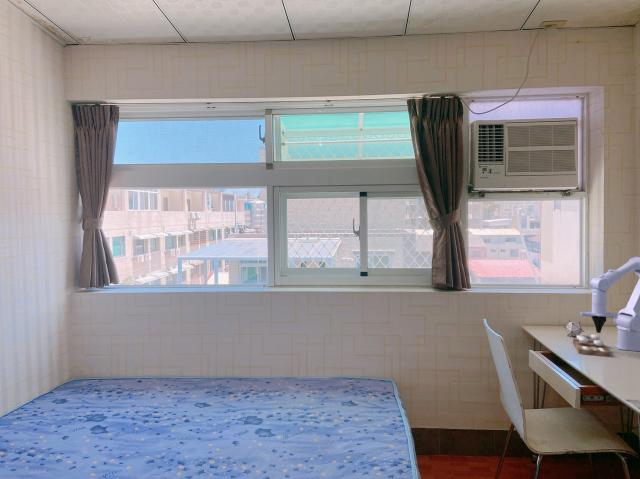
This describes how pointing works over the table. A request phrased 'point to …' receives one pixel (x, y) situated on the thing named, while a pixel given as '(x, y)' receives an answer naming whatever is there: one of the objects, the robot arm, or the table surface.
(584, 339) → the button
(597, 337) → the button
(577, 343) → the button board
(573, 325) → the game die
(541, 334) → the table surface
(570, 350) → the table surface
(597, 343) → the button
